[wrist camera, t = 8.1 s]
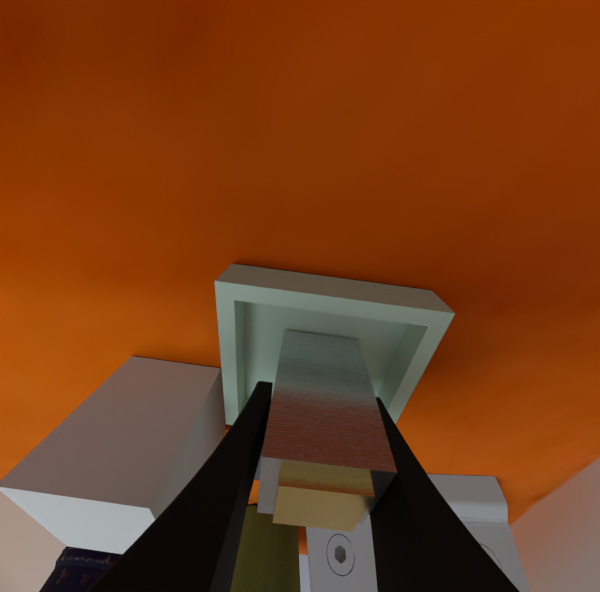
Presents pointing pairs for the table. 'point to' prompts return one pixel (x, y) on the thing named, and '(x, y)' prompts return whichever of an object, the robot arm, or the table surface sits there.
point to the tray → (324, 328)
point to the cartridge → (323, 437)
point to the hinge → (359, 544)
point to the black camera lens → (78, 569)
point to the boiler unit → (122, 454)
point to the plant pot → (266, 555)
